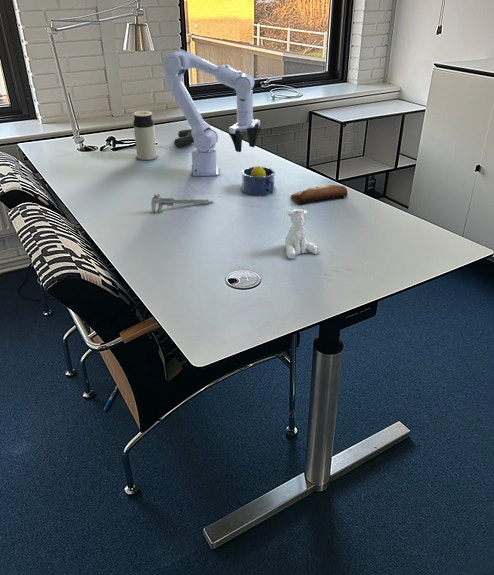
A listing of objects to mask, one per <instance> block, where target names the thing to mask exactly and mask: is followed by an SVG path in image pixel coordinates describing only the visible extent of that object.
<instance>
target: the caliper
mask: <svg viewBox="0 0 494 575" xmlns="http://www.w3.org/2000/svg"><path fill="white" fill-rule="evenodd" d="M210 203H211V204H212V203H213V201H212V200H210V199H209V198H175V197H173V196H161V195H160V194H159V193H158V194H156V193H154V196H153V197H152V198H151V211H152V212H153V214H155V212H156V208H157V213H158V214H159V213H161V211H162V209H163V206H167V207H173V206H174V205H209V204H210Z"/></svg>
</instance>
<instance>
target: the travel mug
mask: <svg viewBox="0 0 494 575" xmlns="http://www.w3.org/2000/svg"><path fill="white" fill-rule="evenodd" d="M132 115H133V117H134V119H133V121H132V123H133V132H134V141H135V142H134V143H135V150H136V158H137V159H139V160H141V161H151V160H155V159H156V158H157V156H158V154H157V146H156V145H157V143H156V133H155V132H156V131H155V123H154V122H155V121H154V119H153V117H152V115H153V112H152V111H150V110H137V111H135V112H133V113H132Z"/></svg>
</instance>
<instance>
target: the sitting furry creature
mask: <svg viewBox="0 0 494 575" xmlns="http://www.w3.org/2000/svg"><path fill="white" fill-rule="evenodd" d="M307 213H308V210H304V209H301V208H299V209H294V210H292V212H291V211H287V213H286V214H287V216H288V217H290V222H291V225H290V226H289V229H288V233H287V235H286V236H285V240H284V244H285V250H286V252H285V253H286V256H287V258H288V259H291V260H293V259H294V258H295V257H296V256H298V255H300V254H308V253H311V254H314V255H317V254H318V253H319V247H318V246H317V245H316V244H315V243H314V242H312V241H308V240H307V239H306V234H307V232H306V231H307V230H306V229H305V227H306V226H305V225H306V223H308V215H307Z"/></svg>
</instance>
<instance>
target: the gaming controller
mask: <svg viewBox="0 0 494 575" xmlns="http://www.w3.org/2000/svg"><path fill="white" fill-rule="evenodd" d="M177 136H178V138H175V139H174V142H173V145H174V146H175V147H176V148H183V147H187V146H190V145H192V144H194V139H193V137H192V128H190V129H182V130H178V133H177Z"/></svg>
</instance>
